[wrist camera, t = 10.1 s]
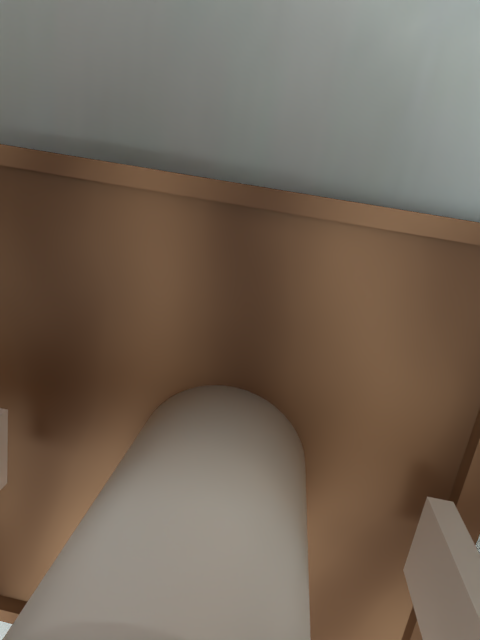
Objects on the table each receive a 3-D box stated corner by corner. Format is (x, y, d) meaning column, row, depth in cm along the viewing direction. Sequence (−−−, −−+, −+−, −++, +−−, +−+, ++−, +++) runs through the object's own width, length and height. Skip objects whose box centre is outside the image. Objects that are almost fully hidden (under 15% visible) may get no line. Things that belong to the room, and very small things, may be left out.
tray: (-22, 574, 21) (-144, 719, 15) (-25, 140, 16) (-213, 108, 10) (400, 674, 19) (443, 877, 14) (552, 234, 14) (726, 262, 8)
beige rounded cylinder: (130, 513, 17) (-34, 828, 9) (148, 369, 16) (-34, 582, 7) (286, 550, 17) (276, 917, 8) (322, 405, 15) (354, 678, 7)
